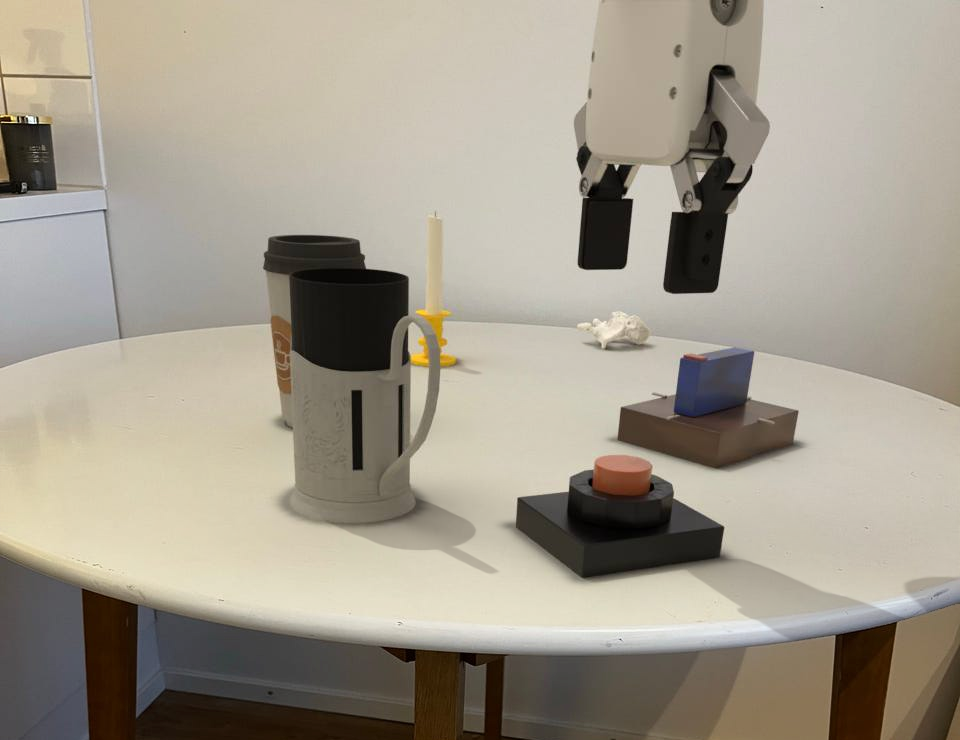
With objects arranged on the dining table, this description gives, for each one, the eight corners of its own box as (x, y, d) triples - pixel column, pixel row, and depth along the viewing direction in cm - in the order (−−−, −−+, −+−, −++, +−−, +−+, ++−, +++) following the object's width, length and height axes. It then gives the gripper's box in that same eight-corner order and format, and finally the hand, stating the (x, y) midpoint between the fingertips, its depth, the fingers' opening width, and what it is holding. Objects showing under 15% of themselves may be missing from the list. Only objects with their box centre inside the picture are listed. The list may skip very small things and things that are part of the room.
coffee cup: (253, 419, 89) (242, 235, 82) (334, 407, 94) (330, 232, 87) (303, 442, 83) (296, 247, 76) (386, 427, 88) (386, 243, 81)
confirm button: (629, 478, 66) (632, 452, 65) (660, 495, 63) (663, 468, 63) (581, 484, 65) (584, 457, 64) (610, 501, 62) (613, 474, 61)
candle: (456, 358, 115) (461, 210, 108) (454, 368, 110) (459, 213, 103) (410, 356, 115) (412, 207, 108) (406, 366, 110) (408, 211, 103)
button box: (642, 512, 71) (649, 457, 69) (719, 559, 64) (729, 498, 62) (515, 528, 67) (518, 470, 66) (581, 580, 60) (587, 516, 58)
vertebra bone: (621, 307, 129) (660, 310, 124) (620, 342, 130) (657, 346, 125) (574, 310, 124) (612, 314, 119) (573, 346, 126) (610, 351, 121)
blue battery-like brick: (727, 399, 90) (735, 344, 88) (746, 403, 88) (755, 348, 86) (673, 412, 85) (680, 354, 82) (692, 417, 83) (700, 359, 81)
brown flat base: (688, 417, 96) (693, 383, 94) (804, 447, 88) (811, 411, 87) (606, 438, 88) (609, 402, 86) (725, 473, 80) (731, 434, 79)
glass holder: (374, 475, 76) (372, 264, 69) (488, 534, 66) (499, 294, 59) (267, 494, 71) (254, 269, 65) (372, 561, 61) (370, 303, 55)
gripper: (864, -102, 45) (793, 303, 53) (651, -55, 59) (620, 260, 67) (726, -125, 42) (673, 306, 50) (536, -70, 56) (518, 261, 64)
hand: (643, 279), depth 58 cm, fingers open, 8 cm apart
